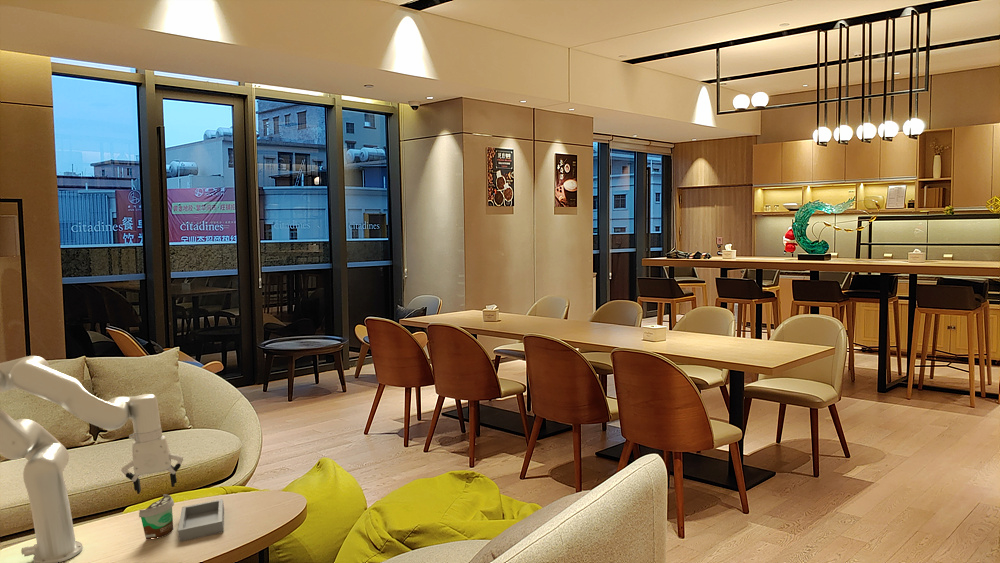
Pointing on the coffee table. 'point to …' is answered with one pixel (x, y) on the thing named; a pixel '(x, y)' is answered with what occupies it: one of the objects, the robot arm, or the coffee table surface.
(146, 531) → the food container
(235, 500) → the coffee table surface
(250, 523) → the coffee table surface
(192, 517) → the tray
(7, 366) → the robot arm
